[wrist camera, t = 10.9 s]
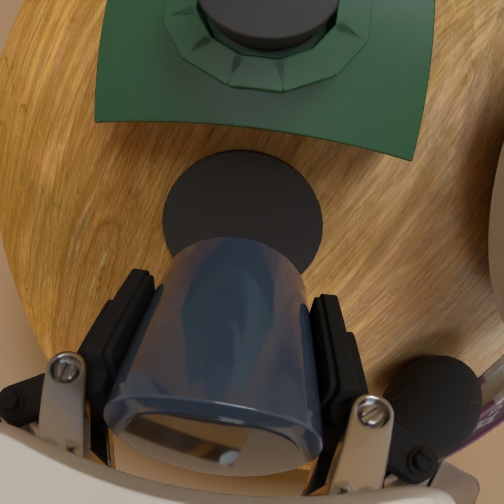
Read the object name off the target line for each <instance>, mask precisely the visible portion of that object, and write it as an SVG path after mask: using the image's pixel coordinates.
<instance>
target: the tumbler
mask: <svg viewBox="0 0 504 504" xmlns="http://www.w3.org/2000/svg"><path fill="white" fill-rule="evenodd" d="M103 418H104V421H105V423H106V424H107V426H108V427H109V428H110V430H111V431H112V432H113V433H114V434H115V435H116V436H117V437H119V438H120V439H121V440H122V441H124V442H125V443H127V444H128V445H130V446H131V447H133V448H135V449H136V450H138V451H140V452H142V453H144V454H146V455H148V456H150V457H152V458H154V459H157V460H159V461H162V462H165V463H167V464H170V465H173V466H177V467H180V468H184V469H188V470H193V471H197V472H202V473H208V474H216V475H226V476H259V475H269V474H275V473H280V472H285V471H289V470H292V469H295V468H298V467H301V466H303V465H305V464H308V463H309V462H311V461H313V460H314V459H315V458H317V457H318V456H319V455H320V453H321V452H322V450H323V447H324V437H323V425H322V415H321V405H320V395H319V386H318V377H317V369H316V360H315V352H314V345H313V337H312V330H311V322H310V315H309V308H308V302H307V295H306V289H305V285H304V282H303V279H302V277H301V275H300V273H299V272H298V271H297V269H296V268H295V266H294V265H293V264H292V263H291V262H290V261H289V260H288V259H287V258H286V257H285V256H283V255H282V254H281V253H280V252H278V251H276V250H275V249H273V248H271V247H269V246H267V245H265V244H263V243H260V242H257V241H254V240H251V239H245V238H240V237H216V238H210V239H206V240H202V241H199V242H196V243H194V244H192V245H190V246H188V247H186V248H185V249H183V250H182V251H180V252H179V253H178V254H177V255H176V256H175V257H174V258H173V259H172V261H171V262H170V263H169V265H168V267H167V268H166V270H165V272H164V274H163V276H162V278H161V280H160V282H159V284H158V286H157V288H156V290H155V292H154V294H153V296H152V298H151V300H150V302H149V304H148V306H147V308H146V311H145V313H144V315H143V317H142V319H141V321H140V323H139V325H138V328H137V330H136V332H135V334H134V336H133V339H132V341H131V343H130V345H129V347H128V350H127V352H126V354H125V357H124V359H123V361H122V363H121V366H120V368H119V370H118V373H117V375H116V378H115V380H114V382H113V385H112V387H111V390H110V392H109V395H108V397H107V400H106V402H105V405H104V407H103Z"/></svg>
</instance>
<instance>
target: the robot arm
mask: <svg viewBox="0 0 504 504" xmlns="http://www.w3.org/2000/svg"><path fill="white" fill-rule="evenodd" d="M154 292H155V286H154V277H153V276H152V275H150V274H149V271H147V270H140V269H132V271H131V272H130V274H129V275H128V277H127V278H126V280H125V281H124V283H123V285H122V286H121V288H120V289H119V291H118V292H117V294H116V296H115V297H114V299H113V300H108V301H107V303H106V304H105V306H104V307H103V309H102V310H101V312H100V314H99V315H98V317H97V319H96V320H95V322H94V324H93V325H92V327H91V329H90V330H89V332H88V334H87V336H86V337H85V339H84V341H83V342H82V344H81V346H80V348H79V350H78V351H77V353H75V352H72V351H64V352H60V353H58V354H56V355H55V356H53V357H52V358H51V359H50V361H49V362H48V364H47V367H46V371H45V373H43V374H40V375H38V376H35V377H32V378H30V379H27V380H24V381H21V382H19V383H16V384H13V385H10V386H8V387H6V388H4V389H3V390H2V391H1V392H0V504H475V502H476V499H477V497H478V494H479V490H480V489H479V483H478V481H477V479H476V478H475V477H473V476H472V475H469V474H468V473H466V472H464V471H462V470H461V469H459V468H457V467H455V466H453V465H452V464H450V463H448V462H446V461H445V460H441V461H439V460H438V458H437V454H436V453H435V451H434V450H433V449H432V448H431V447H430V446H429V445H427V444H426V443H424V442H423V441H421V440H420V439H418V438H417V437H415V436H414V435H413V434H411V433H410V432H408V431H407V430H405V429H404V428H403V427H401V426H400V425H398V424H397V423H395V422H394V411H393V409H392V406H391V405H390V403H389V402H388V401H387V400H386V399H385V398H383V397H381V396H379V395H377V394H369V393H368V388H367V384H366V380H365V375H364V371H363V367H362V363H361V359H360V355H359V351H358V347H357V344H356V340H355V337H354V334H353V333H352V332H346V328H345V324H344V320H343V316H342V312H341V309H340V305H339V301H338V298H337V296H336V295H328V294H321V295H320V297H319V298H318V297H315V298H314V301H313V304H312V307H311V310H310V313H309V315H310V322H311V330H312V337H313V345H314V352H315V360H316V369H317V377H318V386H319V395H320V405H321V415H322V425H323V437H324V447H323V450H322V452H321V453H320V455H319V456H318V457H317V458H315V459H314V462H313V465H312V468H311V470H310V473H309V476H308V478H307V481H306V483H305V486H304V489H303V491H302V493H301V496H300V497H263V496H246V495H234V494H224V493H216V492H208V491H201V490H196V489H190V488H185V487H179V486H175V485H170V484H165V483H161V482H157V481H153V480H149V479H145V478H142V477H138V476H135V475H131V474H128V473H125V472H121V471H119V470H116V468H115V458H114V446H113V432H112V431H111V430H110V428H109V427H108V426H107V424H106V423H105V421H104V418H103V407H104V405H105V402H106V400H107V397H108V395H109V392H110V390H111V387H112V385H113V382H114V380H115V378H116V375H117V373H118V370H119V368H120V366H121V363H122V361H123V359H124V357H125V354H126V352H127V350H128V347H129V345H130V343H131V341H132V339H133V336H134V334H135V332H136V330H137V328H138V325H139V323H140V321H141V319H142V317H143V315H144V313H145V311H146V308H147V306H148V304H149V302H150V300H151V298H152V296H153V294H154Z"/></svg>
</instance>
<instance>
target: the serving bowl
mask: <svg viewBox="0 0 504 504" xmlns="http://www.w3.org/2000/svg"><path fill="white" fill-rule="evenodd" d="M488 255H489V269H490V278H491V284H492V289H493V294H494V297H495V301H496V304H497V307H498V310H499V313H500V316H501V318H502V320H503V323H504V142H503V145H502V149H501V153H500V157H499V162H498V166H497V170H496V176H495V181H494V187H493V192H492V200H491V209H490V219H489V236H488Z"/></svg>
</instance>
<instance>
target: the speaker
mask: <svg viewBox="0 0 504 504" xmlns="http://www.w3.org/2000/svg"><path fill="white" fill-rule="evenodd" d="M382 397H383V398H385V399H386V400H387V401H388V402H389V403H390V405H391V406H392V409H393V411H394V422H395V423H397V424H398V425H400V426H401V427H403V428H404V429H405V430H407V431H408V432H410V433H411V434H413V435H414V436H415V437H417V438H418V439H420V440H421V441H423V442H424V443H426V444H427V445H429V446H430V447H431V448H432V449H433V450H434V451H435V453H436V454H437V458H438V460H439V459H442V458H444V457H446V456H448V455H450V454H452V453H453V452H455V451H456V450H457V449H458V448H460V447H461V446H462V445H463V444H464V443H465V442H466V441H467V439H468V438H469V437H470V436H471V434H472V433H473V431H474V429H475V427H476V425H477V423H478V421H479V418H480V415H481V410H482V390H481V386H480V383H479V380H478V378H477V376H476V375H475V373H474V372H473V371H472V369H471V368H470V367H469V366H468V365H466V364H465V363H463V362H462V361H460V360H458V359H456V358H453V357H449V356H430V357H426V358H423V359H420V360H417V361H415V362H413V363H411V364H410V365H408V366H407V367H405V368H404V369H403V370H401V371H400V372H399V373H398V374H397V375H396V376H395V377H394V378H393V380H392V381H391V382H390V383H389V385H388V386H387V388H386V390H385V392H384V394H383V396H382Z"/></svg>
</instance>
